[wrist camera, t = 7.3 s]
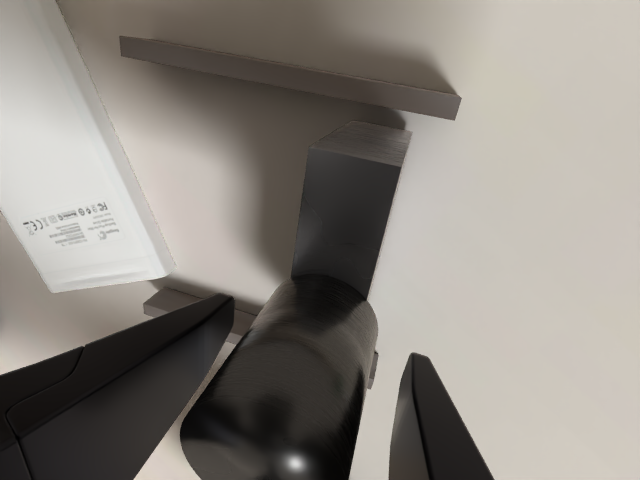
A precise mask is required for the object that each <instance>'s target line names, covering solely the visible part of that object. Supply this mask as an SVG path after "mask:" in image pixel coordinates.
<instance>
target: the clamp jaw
mask: <svg viewBox="0 0 640 480" xmlns="http://www.w3.org/2000/svg"><path fill="white" fill-rule="evenodd" d="M411 136H412V132H410V131H405V130H400V129H395V128H390V127H386V126H381V125H376V124H371V123H366V122H361V121H356V120H352V121H350V122H349V123H347V124H346V125H344V126H342V127H341V128H339V129H337V130H336V131H334V132H332V133H331V134H329V135H327V136H326V137H324V138H323V139H321V140H319V141H318V142H316V143H314V144H313V145H311V146H309V150H308V158H307V165H306V172H305V179H304V187H303V194H302V201H301V208H300V216H299V223H298V230H297V237H296V245H295V252H294V259H293V266H292V274H291V278H290V279H288V280H287V281H285V282H283V283H282V284H281V285H280V286H279V287H278V288H277V289H276V290H275V292H274V293H273V295H272V296H271V297H270V299H269V300H268V302H267V303H266V304H265V306H264V307H263V309H262V310H261V311H260V313H259V314H258V316H257V317H256V318H255V320H254V321H253V323H252V324H251V325H250V327H249V328H248V330H247V331H246V332H245V334H244V335H243V337H242V338H241V339H240V341H239V342H238V344H237V345H236V346H235V348H234V349H233V351H232V352H231V353H230V355H229V356H228V358H227V359H226V360H225V362H224V363H223V365H222V366H221V367H220V369H219V370H218V372H217V373H216V374H215V376H214V377H213V379H212V380H211V381H210V383H209V384H208V386H207V387H206V388H205V390H204V391H203V393H202V394H201V395H200V397H199V398H198V400H197V401H196V402H195V404H194V405H193V407H192V408H191V410H190V411H189V412H188V414H187V415H186V417H185V418H184V420H183V422H182V425H181V429H180V441H181V446H182V449H183V452H184V454H185V457H186V459H187V460H188V462H189V464H190V466H191V467H192V468H193V470H194V471H195V473H196V474H197V475H198V476H199V477H200V478H201V480H349V475H350V470H351V465H352V460H353V455H354V450H355V445H356V440H357V435H358V430H359V425H360V420H361V415H362V410H363V405H364V400H365V396H366V391H367V386H368V381H369V376H370V371H371V366H372V361H373V356H374V351H375V346H376V341H377V336H378V324H377V319H376V316H375V313H374V311H373V309H372V307H371V306H370V304H369V302H368V299H369V295H370V291H371V288H372V284H373V280H374V276H375V272H376V269H377V265H378V261H379V257H380V253H381V250H382V246H383V242H384V238H385V234H386V231H387V227H388V223H389V219H390V215H391V212H392V208H393V204H394V200H395V197H396V193H397V189H398V185H399V181H400V178H401V174H402V170H403V166H404V162H405V159H406V155H407V151H408V147H409V143H410V140H411Z"/></svg>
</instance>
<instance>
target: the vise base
mask: <svg viewBox="0 0 640 480" xmlns="http://www.w3.org/2000/svg"><path fill="white" fill-rule="evenodd" d="M120 48H121V56H123V57H128V58H133V59H139V60H144V61H149V62H154V63H159V64H164V65H170V66H175V67H180V68H185V69H190V70H196V71H201V72H206V73H211V74H216V75H221V76H227V77H232V78H237V79H242V80H247V81H253V82H258V83H263V84H268V85H273V86H278V87H284V88H289V89H294V90H299V91H304V92H310V93H315V94H320V95H325V96H330V97H335V98H341V99H346V100H351V101H356V102H361V103H367V104H372V105H377V106H382V107H387V108H392V109H398V110H403V111H408V112H413V113H418V114H424V115H429V116H434V117H439V118H444V119H449V120H455V118H456V115H457V112H458V108H459V105H460V102H461V99H462V98H461V97H460V96H459V95H455V94H449V93H444V92H438V91H433V90H427V89H422V88H416V87H411V86H405V85H400V84H394V83H389V82H383V81H377V80H372V79H366V78H361V77H355V76H350V75H344V74H339V73H333V72H328V71H322V70H317V69H311V68H305V67H300V66H294V65H289V64H283V63H278V62H272V61H267V60H261V59H256V58H250V57H245V56H239V55H233V54H228V53H222V52H217V51H211V50H206V49H200V48H195V47H189V46H184V45H178V44H173V43H167V42H162V41H156V40H150V39H142V38H133V37H125V36H120ZM200 300H202V299H201V298H197V297H194V296H191V295H188V294H185V293H182V292H178V291H175V290H172V289H169V288H166V287H163V288H162V289H161V290H160V291H158V292H157V293H156V294H155V295H153V296H152V297H151V298H150V299H148V300H147V301H146V302H145V303H144V304H143V306H144V314H146V315H149V316H152V317H155V318H156V317H158V316H161V315H163V314H166V313H169V312H171V311H174V310H176V309H179V308H181V307H184V306H187V305H189V304H192V303H194V302H197V301H200ZM256 317H257V316H254V315H251V314H248V313H245V312H242V311H239V310H235V312H234V324H233V327H232V330H231V332H230V333H229V335H228V337H227V339H226V341H227V342H230V343H233V344H236V345H237V344H238V342H239V341H240V339H241V338H242V337H243V335H244V334H245V332H246V331H247V330H248V328H249V327H250V325H251V324H252V323H253V321H254V320H255V318H256ZM377 360H378V354H375V353H374V356H373V361H372V366H371V371H370V376H369V381H368V386H367V388H368V389H371V387H372V384H373V381H374V377H375V371H376V366H377Z"/></svg>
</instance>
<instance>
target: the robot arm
mask: <svg viewBox="0 0 640 480" xmlns="http://www.w3.org/2000/svg"><path fill="white" fill-rule="evenodd" d="M234 312H235V299H234V297H232V296H230V295H226V294H223V293H218V294H215V295H212V296H210V297H207V298H205V299H202V300H200V301H197V302H194V303H192V304H189V305H187V306H184V307H181V308H179V309H176V310H174V311H171V312H169V313H166V314H163V315H161V316H158V317H156V318H153V319H151V320H148V321H145V322H143V323H140V324H138V325H135V326H132V327H130V328H127V329H125V330H122V331H120V332H117V333H114V334H112V335H109V336H107V337H104V338H102V339H99V340H96V341H94V342H91V343H89V344H86V345H85V347H83V346H81V347H78V348H75V349H73V350H70V351H68V352H65V353H62V354H60V355H57V356H54V357H52V358H49V359H46V360H43V361H41V362H38V363H35V364H32V365H29V366H26V367H23V368H20V369H17V370H14V371H11V372H8V373H5V374H2V375H0V480H133V479H134V478H135V477H136V475H137V474H138V472H139V471H140V469H141V468H142V467H143V465H144V464H145V462H146V461H147V460H148V458H149V457H150V455H151V454H152V452H153V451H154V450H155V448H156V447H157V445H158V444H159V443H160V441H161V440H162V438H163V437H164V435H165V434H166V433H167V431H168V430H169V428H170V427H171V426H172V424H173V423H174V421H175V420H176V418H177V417H178V416H179V414H180V413H181V411H182V410H183V409H184V407H185V406H186V404H187V403H188V401H189V400H190V399H191V397H192V396H193V394H194V393H195V391H196V390H197V389H198V387H199V386H200V384H201V383H202V381H203V380H204V378H205V376H206V375H207V373H208V371H209V370H210V368H211V366H212V364H213V362H214V360H215V359H216V357H217V355H218V353H219V351H220V350H221V348H222V346H223V344H224V342H225V341H226V339H227V337H228V335H229V333H230V332H231V330H232V327H233V324H234ZM389 480H494V478H493V476H492V474H491V472H490V471H489V469H488V467H487V465H486V463H485V461H484V459H483V457H482V456H481V454H480V452H479V450H478V448H477V446H476V444H475V443H474V441H473V439H472V437H471V435H470V433H469V431H468V430H467V428H466V426H465V424H464V422H463V420H462V418H461V417H460V415H459V413H458V411H457V409H456V407H455V405H454V403H453V402H452V400H451V398H450V396H449V394H448V392H447V390H446V389H445V387H444V385H443V383H442V381H441V379H440V377H439V376H438V374H437V372H436V370H435V368H434V366H433V364H432V363H431V361H430V359H429V358H428V357H427V356H424V355H421V354H418V353H414V352H413V353H411V354H410V356H409V358H408V361H407V364H406V367H405V370H404V372H403V375H402V378H401V382H400V388H399V394H398V400H397V406H396V412H395V418H394V424H393V431H392V437H391V445H390V460H389Z"/></svg>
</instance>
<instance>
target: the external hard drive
mask: <svg viewBox="0 0 640 480" xmlns="http://www.w3.org/2000/svg"><path fill="white" fill-rule="evenodd" d="M0 211H1V212H2V214H3V216H4V217H5V219H6V221H7V222H8V224H9V225H10V227H11V229H12V230H13V232H14V233H15V235H16V237H17V238H18V240H19V241H20V243H21V245H22V246H23V248H24V250H25V251H26V253H27V254H28V256H29V258H30V259H31V261H32V263H33V264H34V266H35V267H36V269H37V271H38V272H39V274H40V276H41V278H42V279H43V281H44V283H45V284H46V286H47V287H48V289H49V290H50V292H51V293H58V292H65V291H72V290H78V289H86V288H93V287H100V286H108V285H116V284H122V283H130V282H137V281H145V280H153V279H158V278H162V277H165V276H167V275H169V274H170V273H171V272H172V271H174V270H175V269H176V268H177V266H176V264H175V262H174V259H173V257H172V255H171V253H170V250H169V248H168V246H167V244H166V242H165V239H164V237H163V235H162V233H161V231H160V228H159V226H158V224H157V222H156V220H155V217H154V215H153V213H152V211H151V209H150V206H149V204H148V202H147V200H146V198H145V195H144V193H143V191H142V189H141V187H140V184H139V182H138V180H137V178H136V176H135V173H134V171H133V169H132V167H131V165H130V162H129V160H128V158H127V156H126V154H125V151H124V149H123V147H122V145H121V143H120V140H119V138H118V136H117V134H116V132H115V129H114V127H113V125H112V123H111V121H110V118H109V116H108V114H107V112H106V110H105V108H104V105H103V103H102V101H101V99H100V96H99V94H98V92H97V90H96V88H95V85H94V83H93V81H92V79H91V76H90V74H89V72H88V70H87V68H86V66H85V63H84V61H83V59H82V57H81V55H80V53H79V50H78V48H77V46H76V44H75V42H74V39H73V37H72V35H71V33H70V31H69V28H68V26H67V24H66V22H65V20H64V17H63V15H62V13H61V11H60V9H59V7H58V4H57V2H56V0H0Z"/></svg>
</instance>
